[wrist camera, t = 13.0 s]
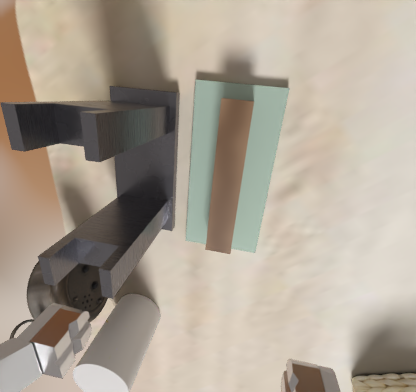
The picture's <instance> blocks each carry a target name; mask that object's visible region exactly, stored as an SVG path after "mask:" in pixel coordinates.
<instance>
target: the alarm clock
mask: <svg viewBox="0 0 416 392" xmlns="http://www.w3.org/2000/svg"><path fill="white" fill-rule="evenodd" d="M99 268H100V267H97V266H92V265H88V264H83V263H78V264H77V265H76V266H75V267H74V268H73V269H72V270H71V271H70V272H69V273H68V274H67V275H66V276H65V277H64V278H63V279H62V280H61V281H60V282H58V283H57V284H56V285H55V286H53V285H48V284H45V283H44V279H43V275H42V271H41V267H40V263H39V261H38V263H37V264H36V265H35V267H34V269H33V271H32V273H31V275H30V278H29V282H28V287H27V303H28V308H29V310H30V313H31V315H32V317H33V318H34V320H35V319H36V318H37V317H38V316H39V315H40V314H41V313H42V312H43V311H44V310H45V309H46V308H47V307H48V306H49V305H51V304H53V303H56V304H60V305H65V306H68V307H72V308H76V309H80V310H84V311H88V312H89V316H90V317H89V319H88V320H87V321H88V322H89V323H90V322H91V321H92V320H94V319H95V318H96V317H97V316H98V315H99V313H100V312H101V311H102V309H103V307H104V305H105V303H106V301H107V298H108V297H103V296H102V291H101V283H100V275H99ZM34 320H32V319H31V320H26V321H23V322H22V323H20V324H19V325H18V326H16V327H15V329H14V330H13V331H12V333H11V336H10V339H11V338H13V337H14V335H15V333H16V331H17V329H18V328H19V327H20V326H21V325H23V324H25V323H27V322H33V321H34Z"/></svg>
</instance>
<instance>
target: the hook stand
mask: <svg viewBox="0 0 416 392" xmlns="http://www.w3.org/2000/svg"><path fill="white" fill-rule="evenodd" d="M179 95H180V93H175V92H165V91H155V90H145V89H135V88H125V87H115V86H110V98H111V101H64V102H4V103H1V107H2V111H3V115H4V119H5V123H6V127H7V132H8V135H9V140H10V144H11V148H12V150H19V151H29V150H33V149H37V148H42V147H46V146H50V145H55V144H59V143H62V144H69V145H77V146H84V150H85V158H86V160H88V161H95V162H101V161H104V160H106V159H109V158H111V157H113V156H115V170H116V184H117V198H116V199H115V200H114V201H112V202H111V203H110V204H108V205H107V206H105V207H104V208H103V209H101V210H100V211H99V212H97V213H96V214H95V215H93V216H92V217H91V218H89V219H88V220H86V221H85V222H84V223H82V224H81V225H80V226H78V227H77V228H76V229H74V230H73V231H72V232H70V233H69V234H68V235H66V236H65V237H63V238H62V239H61V240H60V241H58V242H57V243H55V244H54V245H53V246H51V247H50V248H49V249H48V250H46V251H44V252H43V253H42V254H40V255H39V256H38V258H39V263H40V267H41V271H42V275H43V279H44V283H45V284H48V285H53V286H55V285H56V284H57V283H58V282H60V281H61V280H62V279H63V278H64V277H65V276H66V275H67V274H68V273H69V272H70V271H71V270H72V269H73V268H74V267H75V266H76V265H77V264H78V263H83V264H88V265H92V266H97V267H100V268H99V275H100V283H101V291H102V296H103V297H108V298H112V299H113V298H114V296H115V295H116V293H117V292H118V291H119V289H120V288H121V286H122V285H123V283H124V282H125V281H126V279H127V278H128V276H129V275H130V273H131V272H132V270H133V269H134V268H135V266H136V265H137V263H138V262H139V260H140V259H141V257H142V256H143V255H144V253H145V252H146V250H147V249H148V247H149V246H150V245H151V243H152V242H153V240H154V239H155V237H156V236H157V234H158V233H159V232H160V230H161V229H164V230H170V231H172V230H173V228H174V224H175V198H176V172H177V147H178V121H179Z"/></svg>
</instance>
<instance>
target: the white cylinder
mask: <svg viewBox="0 0 416 392" xmlns="http://www.w3.org/2000/svg"><path fill="white" fill-rule="evenodd" d="M160 317H161V314H160V310H159V308H158V307H157V305H156V304H155V303H154V302H153V301H152V300H150V299H149V298H147V297H145V296H143V295H139V294H127V295H125V296H123V297H122V298H121V299H120V300H119V302H118V303H117V305H116V306H115V308H114V309H113V311H112V312H111V314H110V315H109V317H108V318H107V320H106V322H105V323H104V325H103V326H102V328H101V329H100V331H99V332H98V334H97V335H96V337H95V338H94V340H93V341H92V343H91V344H90V346H89V347H88V349H87V351H86V352H85V354H84V355H83V357H82V358H81V360H80V361H79V363H78V364H77V366H76V367H75V369H74V371H73V378H74V381H75V382H76V384H77V385H78V386H79V387H80V388H81V389H82V390H83V391H84V392H130V390H131V388H132V385H133V383H134V380H135V378H136V376H137V373H138V371H139V368H140V366H141V364H142V361H143V359H144V356H145V354H146V352H147V349H148V347H149V344H150V342H151V340H152V337H153V335H154V332H155V330H156V328H157V325H158V323H159V320H160Z"/></svg>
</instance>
